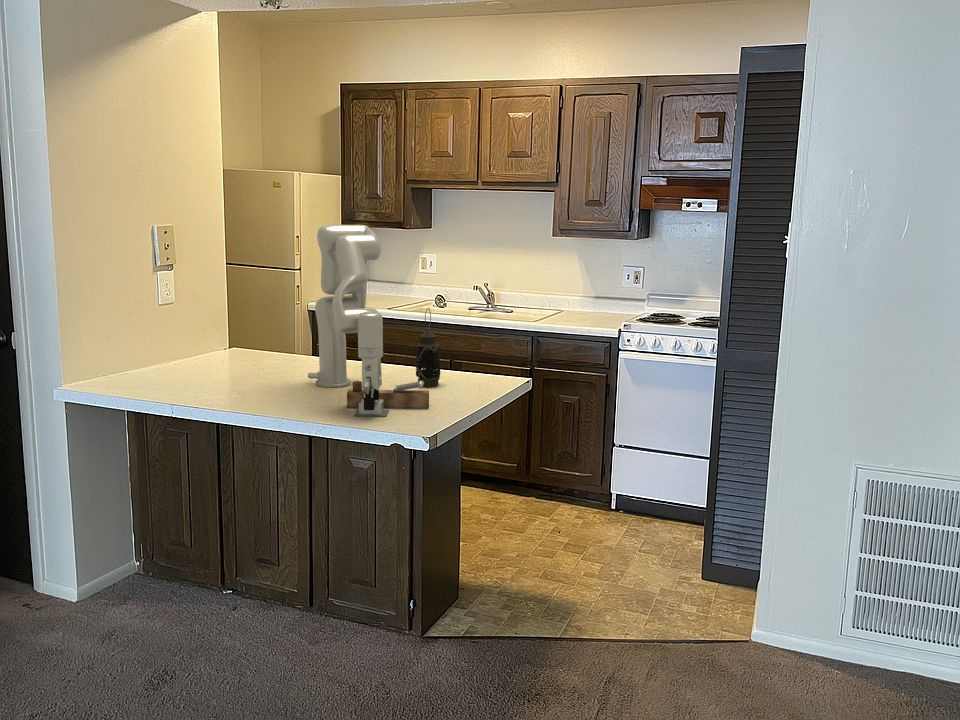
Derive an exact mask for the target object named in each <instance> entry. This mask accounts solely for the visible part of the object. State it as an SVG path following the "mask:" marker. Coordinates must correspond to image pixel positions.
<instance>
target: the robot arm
mask: <svg viewBox="0 0 960 720" xmlns="http://www.w3.org/2000/svg"><path fill="white" fill-rule="evenodd" d="M316 237H317V238H316V239H317V245H318V247H319V250H320V254H321V266H320V268H321V269H320V270H321V271H320V288H321V291H322V292H323V293H324V294H325V295H329V296H323V297H321V298H318V299H317V300H316V302H315V305H314V310H315V317H316V323H317V329H318V330H317V331H318V353H319V354H318V355H319V356H318V357H319V358H318V360H319V361H318V362H319V371H317V372H307V378H309V379H313V380H314V379H316V380H315V385H316V386H318V387H322V388H341V387H342V388H343V387H347V386H350V385H351V384H352V379H350V378H347V375H348V374H347V371H348V370H347V339H346V338H347V337H346V334H354V333H356V334H357V344H358V345H357V348H358V352H357V353H358V355H357V356H358V358H359V359H361V382H362V390H364V410H374V399H378V400H379V390H380V388H381V386H382V385H383V384H382V383H383V381H382V380H383V377H382V375H383V374H382V360H381V358H383V357H384V342H383V341H384V340H383V338H384V336H383V335H384V334H383V333H384V332H383V331H384V330H383V329H384V327H383V325H384V324H383V315H382V313H381V312H379V311H378V309H376V308H372V307H369V308H368V307H366V304H367V303H366V300H367V288H368V287H367V286H368V285H367V284H368V283H367V282H368V281H369V274H368V270H367V265H366V261H376V260H378V259H379V258H380V257H381V252H382V250H381V249H382V248H381V243H380V242H381V241H380V240H379V237H378V236H377V235H376V233H375V232H374V231H373V230H372V229H371V228H370V227H369V226H368V225H364V224H326V225H322V226H320V227H319V228H318V230H317V234H316ZM330 295H333V296H330Z"/></svg>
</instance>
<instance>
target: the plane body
mask: <svg viewBox="0 0 960 720" xmlns="http://www.w3.org/2000/svg"><path fill="white" fill-rule="evenodd" d="M351 384H352V389H348V390H347V391H346V409H347V408H349V409H350V408H351V409H359V402H360V401H361V400H362V399H364V389H363V388H362V380H355V381H351ZM378 390H379V400H384V409H408V410H411V409H412V410H416V409H418V410H428V409H429V408H430V390H427V389H426V390H424V389H423V390H420V389H419V390H417V389H416V390H414V389H407V390H401V391H396V392H394V389H378Z"/></svg>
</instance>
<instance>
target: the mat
mask: <svg viewBox="0 0 960 720" xmlns="http://www.w3.org/2000/svg"><path fill="white" fill-rule="evenodd" d="M389 412H390V410H389V409H384V412H383V413H382V415H359V409H357V410H356V411H355V412H354V414H353V417H356V418H357V417H358V418H360V417H363V418H365V417H366V418H370V417H371V418H387V416H388V415H389Z"/></svg>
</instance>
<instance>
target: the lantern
mask: <svg viewBox="0 0 960 720" xmlns="http://www.w3.org/2000/svg"><path fill="white" fill-rule="evenodd" d="M428 311H429V326H428V327H427V323H426V322H427V321H426V320H427V319H426V318H427V317H426V316H427V312H428ZM431 321H432V314H431V309H430V307H427V308H426V310H425V312H424V326H425V331H424V332H423V333H422V334H420V335H419V343H418V344H416V347H417V348H416V353H415V355H416V356H415V360H414V362H415V363H414V365H415V376H416V377H417V382H419V381H420V380H423V381H424V384H423V387H422V388H424V389H425V388H426V389H429V388H430V389H431V388H436V387H438V386H439V384H440V383H439V380H440V378H441V357H440V356H441V354H440V349H441V344H439V343H437V334H434V333H433V332H432V331H431V327H430V326H431Z"/></svg>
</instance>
